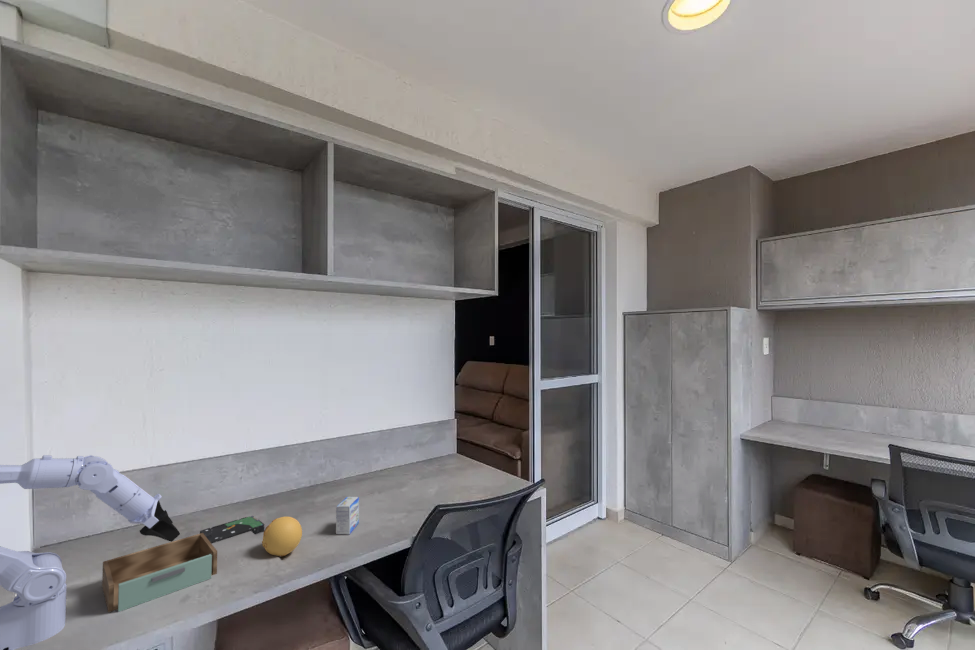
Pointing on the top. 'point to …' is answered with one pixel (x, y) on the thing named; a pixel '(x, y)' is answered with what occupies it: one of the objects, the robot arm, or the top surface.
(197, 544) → the wooden drawer
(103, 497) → the robot arm
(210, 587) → the top surface
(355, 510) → the medicine box
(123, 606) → the green flat rectangular panel
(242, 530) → the disk drive
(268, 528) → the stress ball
